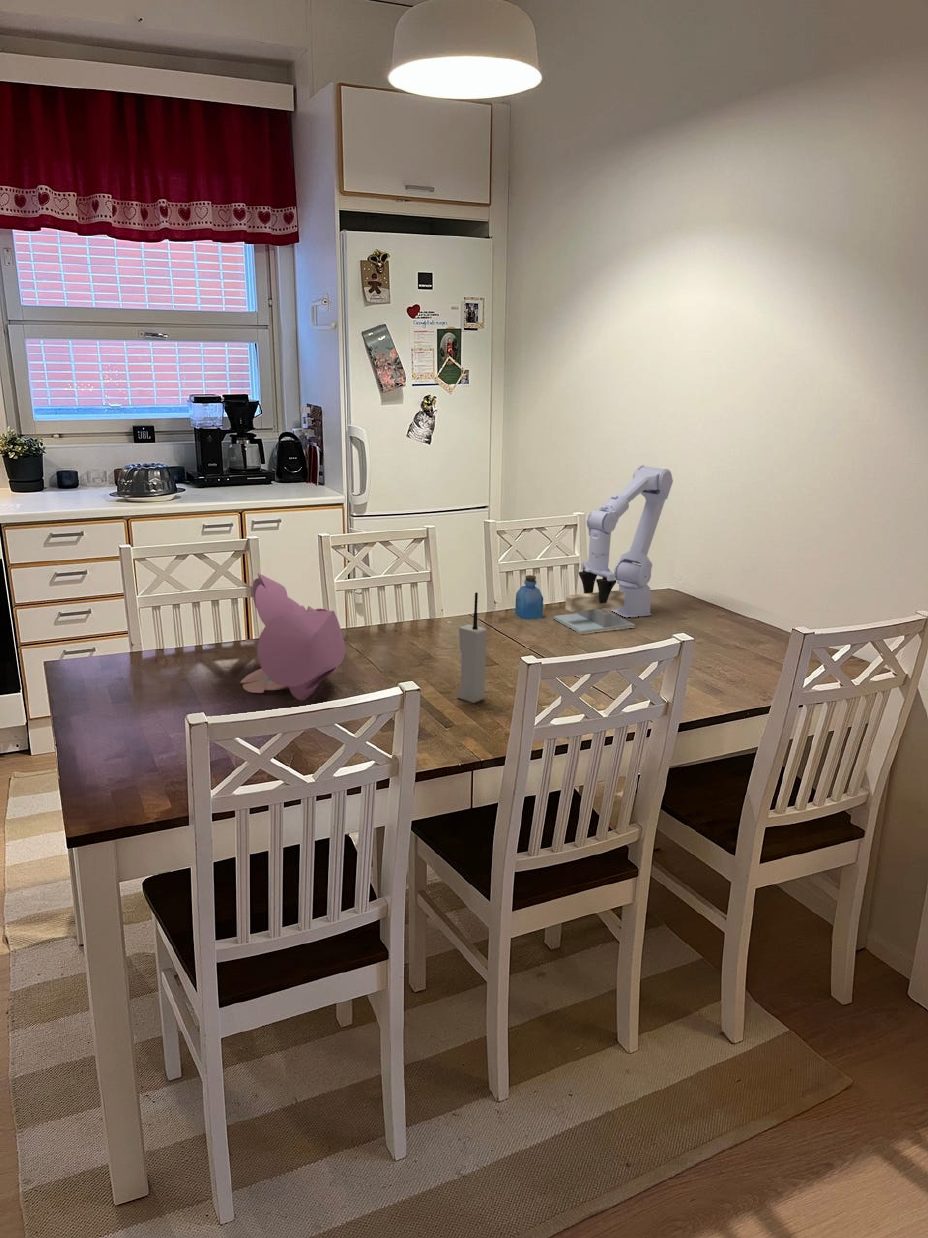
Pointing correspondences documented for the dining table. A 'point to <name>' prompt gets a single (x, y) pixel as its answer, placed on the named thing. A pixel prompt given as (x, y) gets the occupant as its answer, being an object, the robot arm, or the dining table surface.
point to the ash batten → (593, 601)
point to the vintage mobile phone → (472, 660)
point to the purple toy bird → (293, 643)
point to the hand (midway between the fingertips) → (595, 599)
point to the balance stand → (593, 621)
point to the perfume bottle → (529, 600)
